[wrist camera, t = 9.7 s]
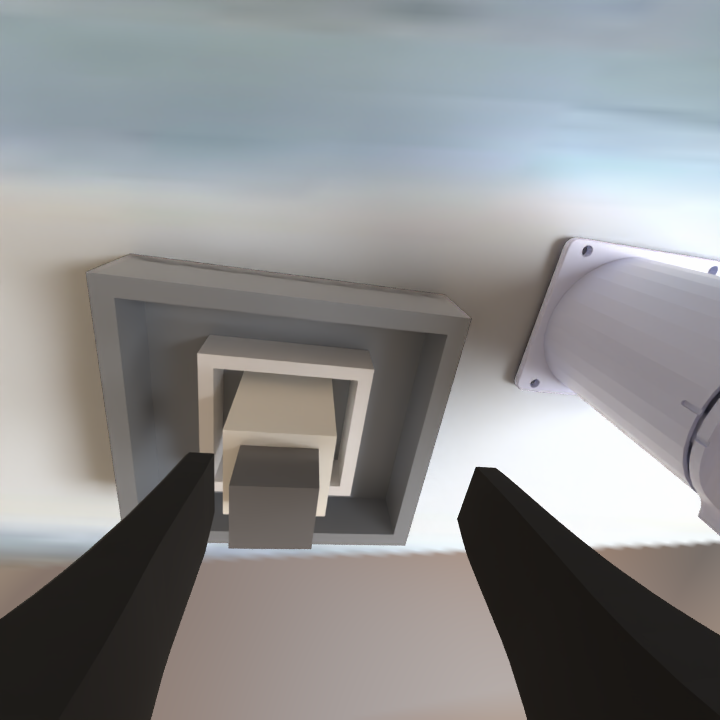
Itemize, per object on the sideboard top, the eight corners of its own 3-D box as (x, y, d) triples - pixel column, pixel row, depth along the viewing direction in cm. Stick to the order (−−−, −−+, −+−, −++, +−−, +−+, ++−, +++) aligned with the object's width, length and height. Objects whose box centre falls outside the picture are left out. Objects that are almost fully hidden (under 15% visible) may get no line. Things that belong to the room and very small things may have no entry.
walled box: (444, 294, 18) (471, 318, 15) (392, 496, 24) (405, 545, 20) (130, 253, 16) (85, 271, 13) (152, 487, 21) (124, 541, 18)
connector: (331, 373, 18) (340, 474, 12) (322, 440, 20) (326, 560, 14) (245, 366, 18) (208, 469, 11) (244, 436, 19) (210, 560, 13)
